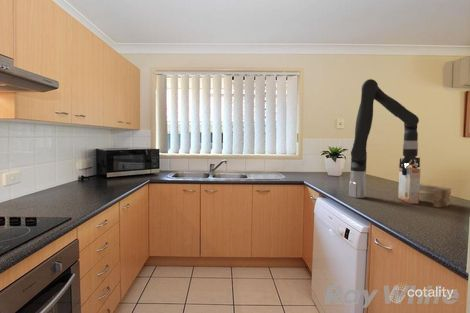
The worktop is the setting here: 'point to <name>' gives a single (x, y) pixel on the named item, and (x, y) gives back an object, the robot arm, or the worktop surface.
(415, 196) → the cracker box
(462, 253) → the worktop surface
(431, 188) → the book rack
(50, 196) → the worktop surface
